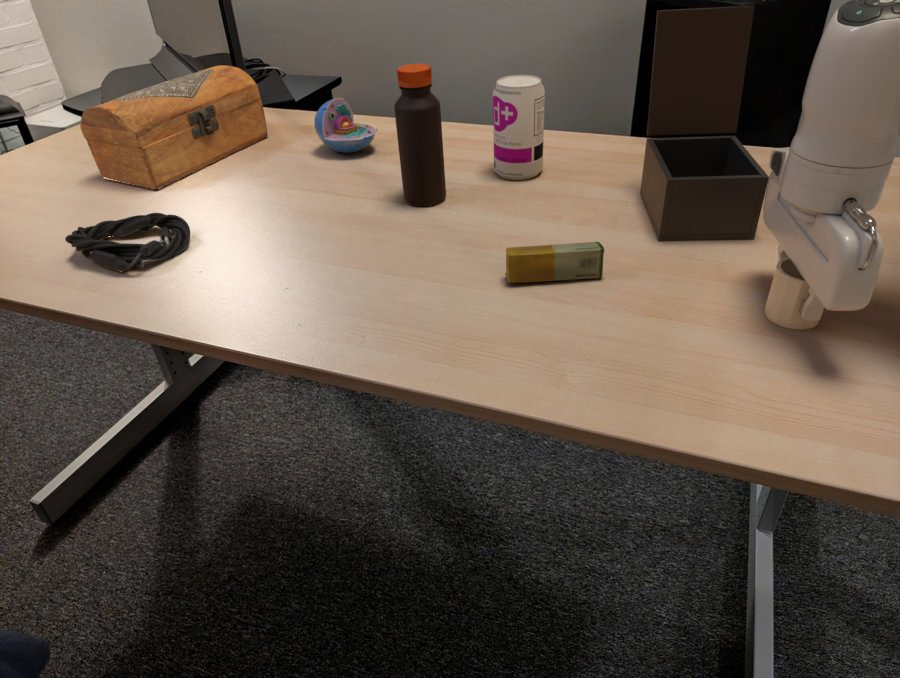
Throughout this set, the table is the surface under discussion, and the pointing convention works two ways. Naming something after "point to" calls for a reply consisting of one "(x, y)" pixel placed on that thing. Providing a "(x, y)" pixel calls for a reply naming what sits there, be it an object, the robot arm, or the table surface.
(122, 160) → the wooden box
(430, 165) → the bottle
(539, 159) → the supplement can
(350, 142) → the cell model
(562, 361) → the table surface
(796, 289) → the creamer cup
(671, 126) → the dark brown box lid
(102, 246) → the cable
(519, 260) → the medication box
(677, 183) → the open topped square crate
